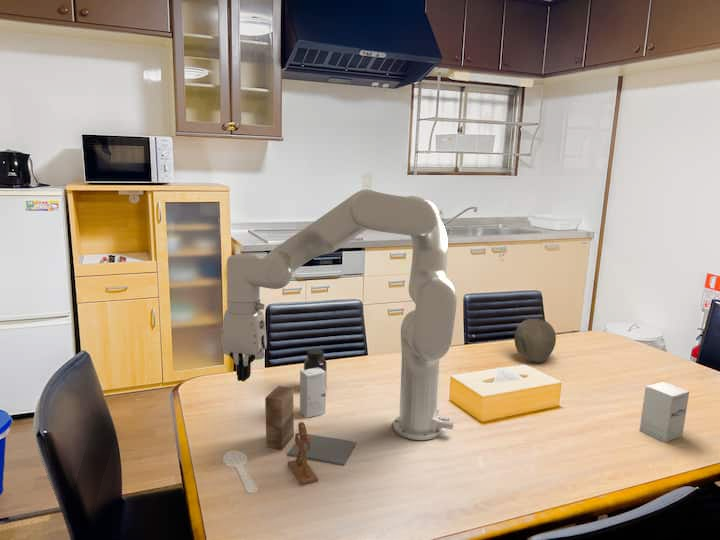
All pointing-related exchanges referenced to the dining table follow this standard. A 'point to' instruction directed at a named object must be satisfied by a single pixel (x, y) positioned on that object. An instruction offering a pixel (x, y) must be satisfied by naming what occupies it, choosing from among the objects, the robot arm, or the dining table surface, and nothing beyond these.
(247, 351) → the robot arm
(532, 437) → the dining table surface
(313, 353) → the supplement bottle
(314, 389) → the skincare box
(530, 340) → the cantaloupe
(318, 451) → the rubber mat
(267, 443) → the walnut box
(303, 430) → the wooden figurine
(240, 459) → the spoon
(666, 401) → the supplement box
